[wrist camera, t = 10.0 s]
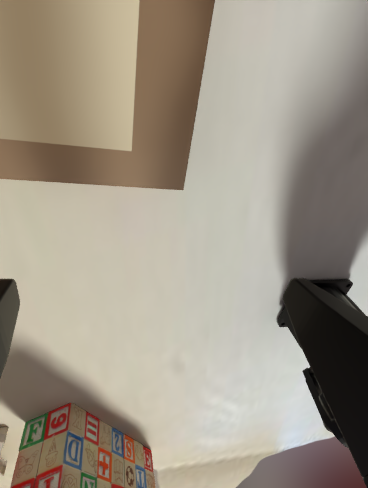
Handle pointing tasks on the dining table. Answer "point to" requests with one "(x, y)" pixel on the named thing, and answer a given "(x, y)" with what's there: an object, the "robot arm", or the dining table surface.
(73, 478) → the stack of blocks
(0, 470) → the newspaper
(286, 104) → the dining table surface
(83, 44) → the maple cube
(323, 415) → the robot arm
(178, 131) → the walnut base slab
